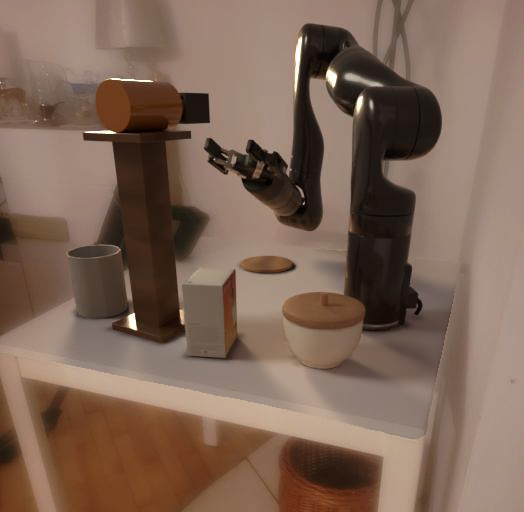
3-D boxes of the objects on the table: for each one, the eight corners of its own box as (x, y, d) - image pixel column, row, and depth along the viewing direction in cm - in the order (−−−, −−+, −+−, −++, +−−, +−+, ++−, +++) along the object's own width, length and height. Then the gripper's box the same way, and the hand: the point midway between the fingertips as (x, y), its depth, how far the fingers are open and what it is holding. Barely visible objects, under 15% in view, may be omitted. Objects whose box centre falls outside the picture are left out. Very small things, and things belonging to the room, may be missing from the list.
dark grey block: (189, 122, 76) (187, 93, 74) (210, 123, 74) (208, 93, 72) (166, 123, 72) (163, 93, 70) (187, 124, 70) (185, 92, 68)
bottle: (182, 127, 76) (179, 84, 74) (213, 128, 74) (211, 83, 71) (99, 132, 63) (91, 79, 61) (133, 133, 61) (127, 78, 58)
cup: (86, 300, 87) (76, 244, 83) (132, 299, 87) (125, 244, 83) (70, 318, 80) (58, 258, 75) (120, 318, 80) (112, 258, 75)
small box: (225, 359, 67) (222, 286, 62) (186, 356, 68) (180, 283, 63) (238, 335, 74) (236, 267, 69) (202, 332, 75) (198, 265, 70)
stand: (155, 308, 84) (136, 129, 71) (202, 320, 79) (191, 130, 67) (112, 329, 76) (82, 132, 63) (161, 343, 71) (139, 134, 59)
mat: (288, 257, 112) (288, 254, 111) (296, 271, 102) (296, 269, 102) (240, 259, 111) (239, 256, 110) (243, 273, 101) (243, 271, 101)
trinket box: (366, 378, 62) (373, 309, 58) (282, 377, 62) (283, 309, 58) (354, 341, 72) (359, 280, 67) (281, 341, 72) (281, 280, 68)
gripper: (243, 162, 100) (199, 121, 86) (305, 167, 94) (269, 123, 79) (233, 198, 100) (188, 163, 86) (295, 205, 94) (257, 168, 79)
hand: (227, 143), depth 82 cm, fingers open, 8 cm apart
